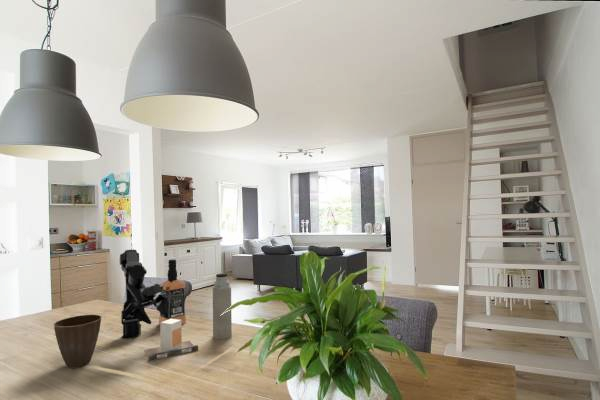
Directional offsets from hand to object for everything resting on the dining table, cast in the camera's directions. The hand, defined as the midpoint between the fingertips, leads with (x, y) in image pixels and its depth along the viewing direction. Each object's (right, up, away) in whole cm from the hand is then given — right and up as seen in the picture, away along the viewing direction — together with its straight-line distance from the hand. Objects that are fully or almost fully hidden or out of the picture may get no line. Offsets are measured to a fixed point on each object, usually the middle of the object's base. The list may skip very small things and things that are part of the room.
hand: (159, 320), depth 142 cm
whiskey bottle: (-8, -14, +37) cm, 40 cm away
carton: (+6, -11, -3) cm, 13 cm away
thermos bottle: (+22, -13, +13) cm, 29 cm away
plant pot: (-26, -13, -11) cm, 31 cm away
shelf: (+5, -12, -2) cm, 13 cm away
